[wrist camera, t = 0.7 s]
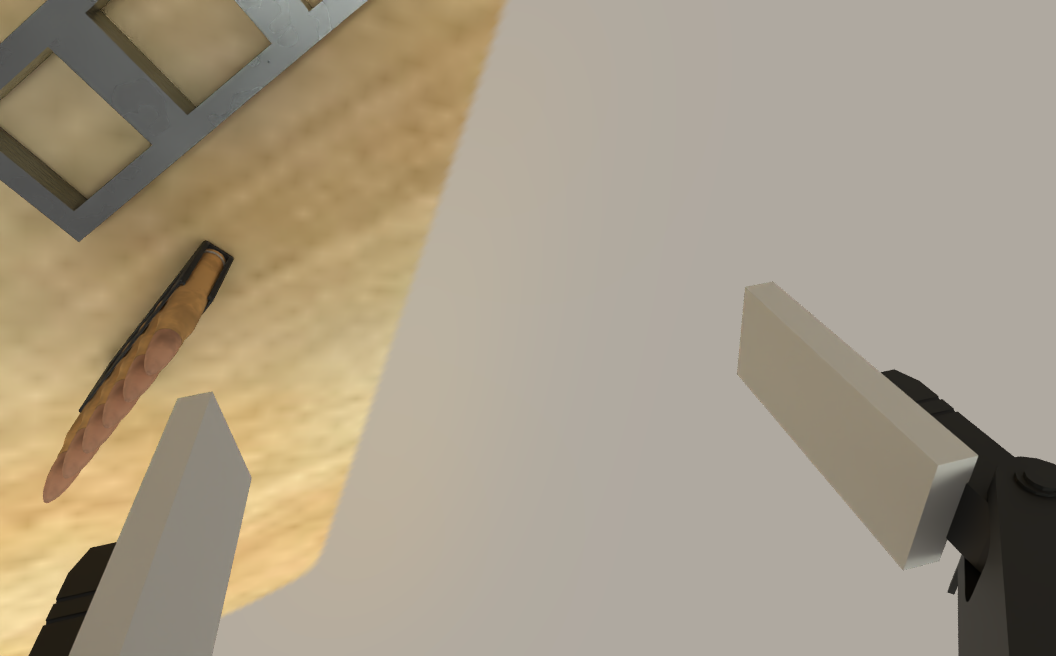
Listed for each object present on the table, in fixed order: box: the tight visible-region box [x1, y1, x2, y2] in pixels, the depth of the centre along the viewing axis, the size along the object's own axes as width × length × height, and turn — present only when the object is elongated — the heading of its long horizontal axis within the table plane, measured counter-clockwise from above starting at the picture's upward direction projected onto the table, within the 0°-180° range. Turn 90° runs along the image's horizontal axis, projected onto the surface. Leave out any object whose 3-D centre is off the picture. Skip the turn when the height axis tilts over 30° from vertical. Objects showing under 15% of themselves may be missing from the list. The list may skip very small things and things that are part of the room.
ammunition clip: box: [43, 241, 234, 503], centre depth 34 cm, size 11×2×12 cm, turn 136°
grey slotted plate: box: [0, 0, 367, 242], centre depth 31 cm, size 8×24×2 cm, turn 125°
